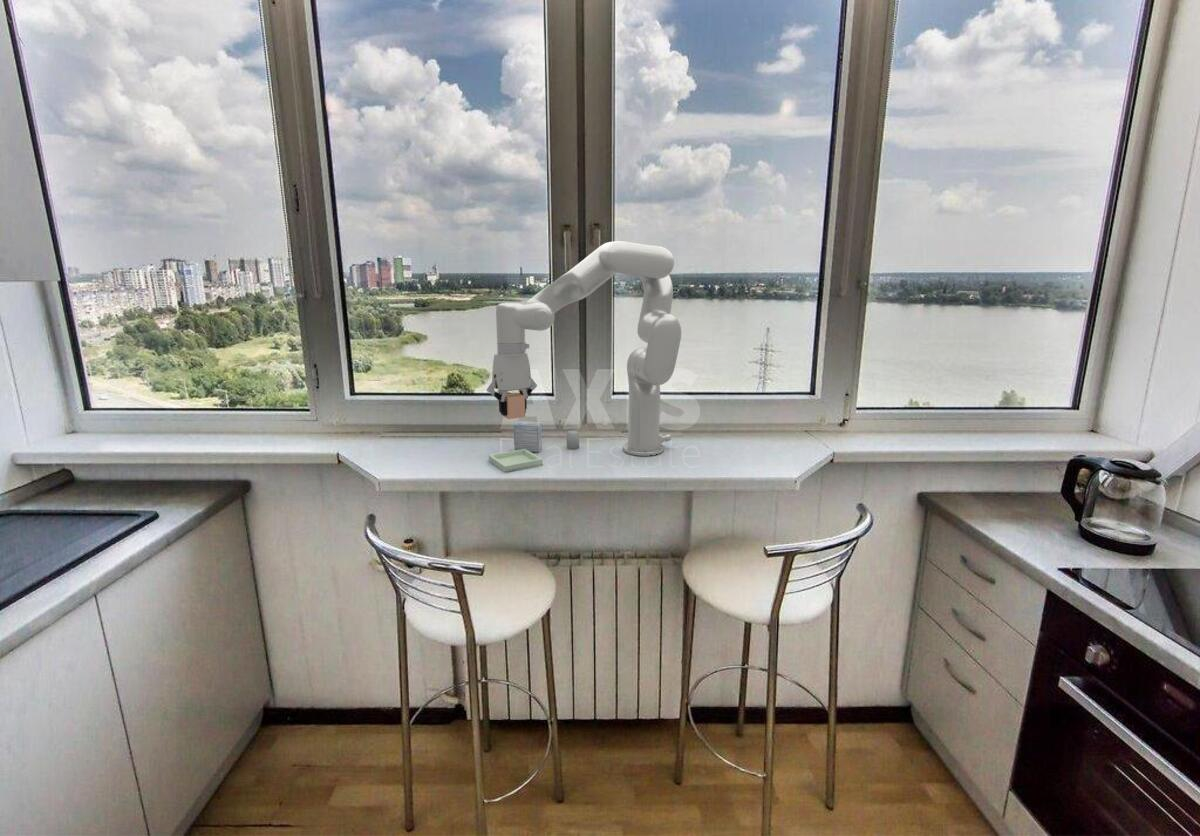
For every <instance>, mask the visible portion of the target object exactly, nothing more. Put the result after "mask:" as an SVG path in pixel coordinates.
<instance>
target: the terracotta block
mask: <svg viewBox="0 0 1200 836" xmlns="http://www.w3.org/2000/svg"><path fill="white" fill-rule="evenodd" d="M505 401H506V402H507V416H504V415H502V414H501V413H500V414H501V416H502V417H504V418H505V419H508V420H513V419H519V418H525V417H526V413H525V396H524V395H521V394H520V393H519V392H511V393H506V398H505Z"/></svg>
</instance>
